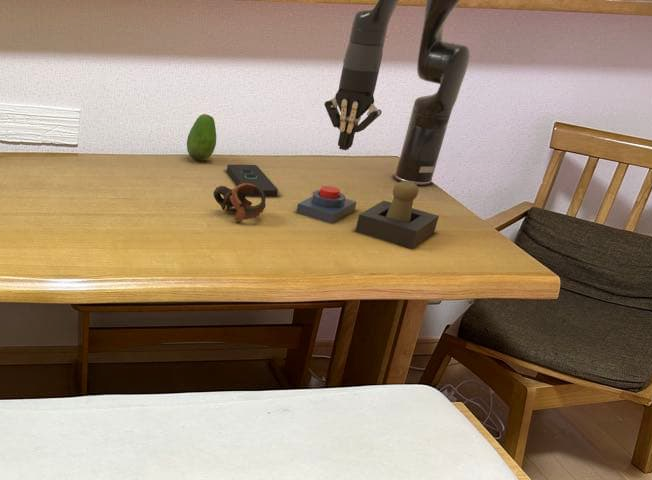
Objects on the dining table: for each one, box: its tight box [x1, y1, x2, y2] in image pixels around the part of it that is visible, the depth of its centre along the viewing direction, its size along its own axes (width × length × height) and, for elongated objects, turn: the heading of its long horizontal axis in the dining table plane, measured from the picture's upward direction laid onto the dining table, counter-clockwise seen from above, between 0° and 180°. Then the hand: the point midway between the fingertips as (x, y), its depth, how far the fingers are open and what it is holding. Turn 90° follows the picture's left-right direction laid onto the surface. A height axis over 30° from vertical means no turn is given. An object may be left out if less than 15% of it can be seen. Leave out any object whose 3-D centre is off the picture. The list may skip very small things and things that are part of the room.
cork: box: [386, 181, 419, 223], centre depth 164 cm, size 6×6×11 cm
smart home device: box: [226, 163, 279, 198], centre depth 189 cm, size 8×2×20 cm
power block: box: [295, 189, 357, 224], centre depth 174 cm, size 12×9×4 cm
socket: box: [354, 200, 440, 249], centre depth 166 cm, size 13×13×4 cm
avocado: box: [186, 113, 217, 162], centre depth 200 cm, size 8×8×12 cm
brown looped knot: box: [213, 183, 267, 224], centre depth 168 cm, size 12×10×8 cm
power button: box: [319, 185, 341, 199], centre depth 173 cm, size 4×4×2 cm
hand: (343, 148), depth 168 cm, fingers closed
